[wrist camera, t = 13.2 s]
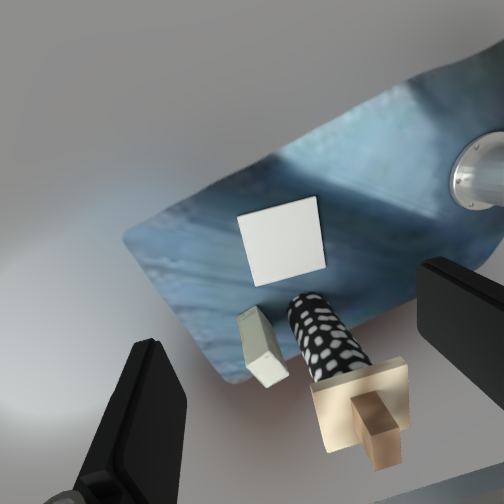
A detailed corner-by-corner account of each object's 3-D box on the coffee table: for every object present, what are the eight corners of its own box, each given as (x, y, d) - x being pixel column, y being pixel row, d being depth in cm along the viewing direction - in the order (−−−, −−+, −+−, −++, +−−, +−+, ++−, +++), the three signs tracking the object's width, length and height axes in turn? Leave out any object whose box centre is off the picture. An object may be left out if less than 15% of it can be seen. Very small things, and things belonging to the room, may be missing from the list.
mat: (314, 195, 43) (315, 196, 43) (324, 266, 48) (325, 267, 48) (236, 216, 43) (237, 217, 42) (254, 285, 48) (255, 286, 47)
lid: (400, 356, 31) (437, 398, 26) (403, 418, 35) (436, 465, 30) (309, 384, 31) (328, 432, 25) (323, 443, 35) (342, 495, 30)
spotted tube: (277, 310, 50) (313, 404, 32) (312, 283, 49) (371, 365, 31) (302, 336, 53) (348, 435, 35) (336, 311, 52) (402, 400, 34)
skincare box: (236, 316, 50) (243, 365, 38) (256, 303, 49) (269, 349, 38) (254, 337, 52) (265, 390, 41) (273, 326, 52) (290, 375, 40)
